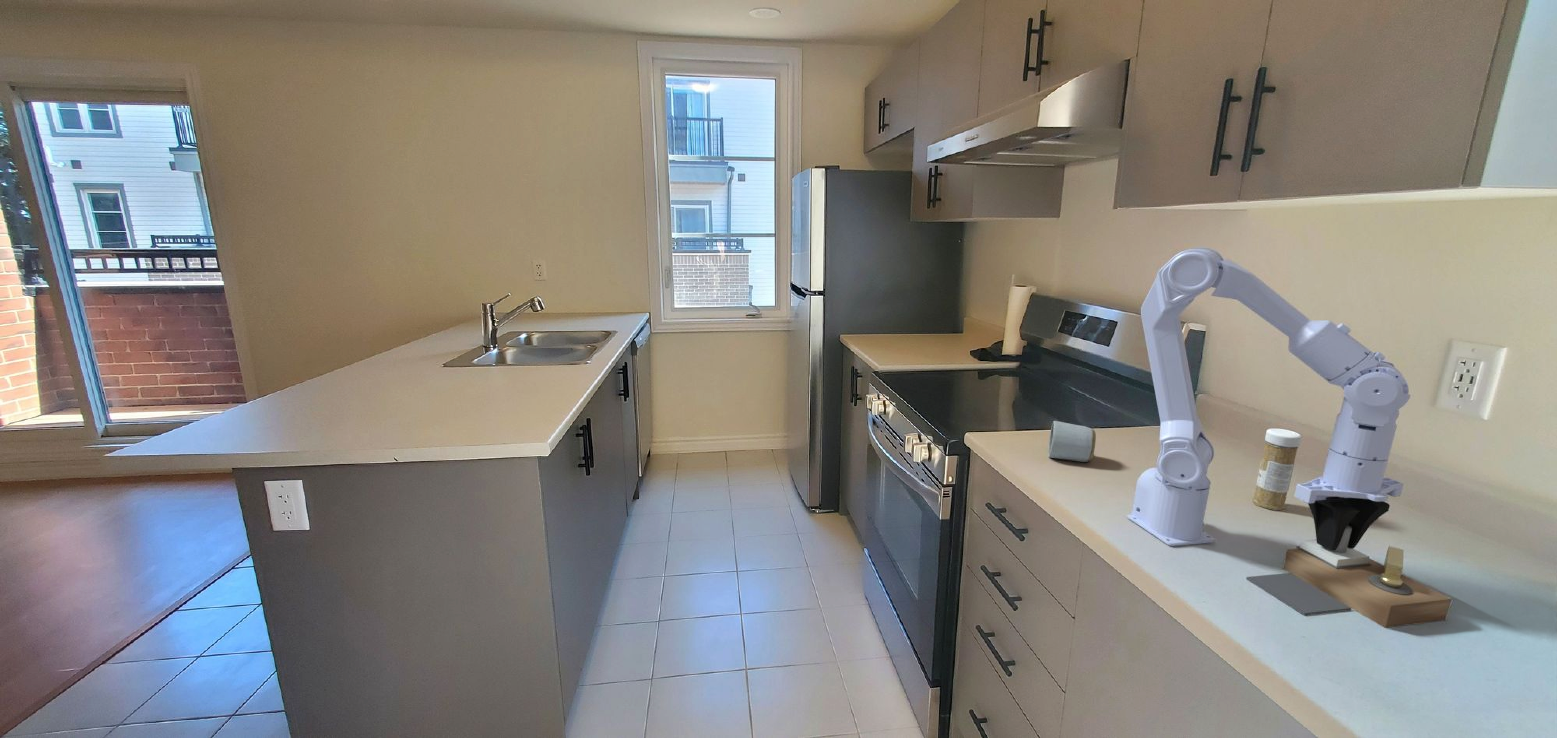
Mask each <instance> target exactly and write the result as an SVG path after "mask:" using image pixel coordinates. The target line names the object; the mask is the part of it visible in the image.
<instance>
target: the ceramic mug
mask: <svg viewBox="0 0 1557 738" xmlns="http://www.w3.org/2000/svg"><path fill="white" fill-rule="evenodd" d="M1050 428H1051V429H1050V432H1049V433H1050V434H1049V442H1048V449H1047V451H1048V452H1047V453H1048V454H1047V456H1048V458H1051V459H1058V460H1065V461H1066V460H1067V461H1072V462H1073V461H1074V462H1080V463H1085V462H1086V463H1087V462H1090V461H1091V460H1093V457H1094V454H1095V448H1096V442H1097V441H1096V440H1097V439H1096V436H1097V435H1096V431H1095V429H1094V428H1092V427H1091V428H1090V427H1088V426H1085V425H1080V424H1079V425H1078V424H1074V423H1067V422H1064V421H1058V420H1054V421H1053V422H1052V424H1051V427H1050Z"/></svg>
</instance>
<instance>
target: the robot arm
mask: <svg viewBox="0 0 1557 738" xmlns="http://www.w3.org/2000/svg"><path fill="white" fill-rule="evenodd" d="M1156 273H1157V274H1156V277H1155V279H1154V282H1153V284H1152V285H1151V287H1150V289H1149V291H1148V294H1147V295H1146V298H1145V299H1144V301H1143V303H1142V305H1141V308H1140V315H1141V316H1140V317H1141V322H1142V328H1143V332H1144V339H1145V345H1146V349H1147V356H1148V362H1149V366H1150V372H1151V378H1152V382H1153V388H1154V394H1155V398H1156V405H1157V410H1158V411H1157V412H1158V415H1159V421H1160V427H1159V430H1160V431H1159V445H1160V452H1159V455H1158V457H1157V460H1156V467H1151V468H1147V469H1146V470H1144V471H1143V472H1142V473H1141V475H1140V476H1139V477H1138V479H1137V481H1136V485H1135V493H1134V498H1133V505H1132V512H1131V513H1128V514H1127V515H1126V518H1127V519H1129V520H1130V521H1132V522H1133V523H1135V524H1136V525H1138V526H1139V527H1140V528H1142V529H1144V530H1145V531H1146V532H1148V533H1150V534H1151V535H1153V536H1154V537H1156V538H1157V539H1159V540H1161V541H1162V542H1163V543H1165V544H1166V545H1167V546H1171V547H1172V546H1173V547H1175V546H1185V545H1187V546H1188V545H1197V544H1207V543H1208V544H1209V543H1215V542H1216V539H1215V538H1214V537H1212V536H1211V535H1210V534H1208V533H1206V532H1204V531H1202V530H1203V525H1204V520H1205V516H1206V515H1205V514H1206V509H1207V504H1208V499H1209V495H1210V489H1211V483H1212V482H1211V480H1210V479H1209V478H1208V476H1207V474H1208V467H1209V466H1210V464H1211V462H1212V461H1213V460H1214V457H1215V449H1214V446H1213V444H1212V442H1211V441H1210V440H1209V439H1208V438H1207V436H1206V435H1205V433H1204V429H1203V425H1202V424H1203V423H1201V420H1200V419H1199V416H1198V411H1197V406H1196V400H1195V393H1194V390H1193V384H1192V378H1191V372H1190V366H1189V361H1188V356H1187V349H1186V344H1185V339H1184V333H1183V329H1182V328H1183V327H1182V322H1181V321H1182V320H1181V314H1182V313H1183V312H1184V311H1185V310H1186V309H1187V308H1188V307H1189V305H1191V303H1192V302H1193V301H1194V300H1195V298H1197V297H1198V296H1200V295H1201V294H1203V293H1204V292H1205V291H1207V290H1209V289H1210V288H1214V290H1213V292H1212V293H1211V295H1210V296H1212V297H1218V298H1223V299H1231V300H1237V301H1238V302H1240V303H1241V304H1242V305H1244V306H1245V307H1247V308H1248V309H1250V310H1251V311H1252V312H1254V313H1255V314H1257V315H1258V316H1259V317H1260V318H1261V319H1263V320H1265V321H1266V322H1267V323H1269V324H1270V325H1272V326H1273V328H1275V329H1277V330H1278V331H1280V332H1281V333H1283V334H1284V335H1285V336H1287V338H1288V349H1287V350H1288V352H1290V353H1291V354H1292V355H1294V356H1295V357H1296V358H1297V359H1298V360H1300V361H1301V363H1303V364H1305V365H1306V366H1307V367H1309V368H1310V369H1311V370H1312V371H1314V372H1315V373H1316V374H1318V375H1319V376H1320V377H1321V378H1323V380H1325V381H1326V382H1327V383H1329V384H1330V385H1334V386H1339V387H1341V389H1342V391H1343V395H1344V396H1343V400H1342V403H1341V407H1340V411H1339V413H1338V414H1337V415H1336V418H1335V422H1334V427H1333V430H1332V435H1331V440H1330V444H1329V448H1328V451H1327V456H1326V460H1325V465H1324V468H1323V473H1322V475H1321V476H1318V477H1316V478H1314V479H1311V480H1309V481H1307V482H1303V483H1297V484H1296V488H1295V492H1294V496H1293V497H1294V498H1295V499H1298V500H1300V501H1302V502H1304V503H1306V504H1307V505H1308V507H1309V509H1310V512H1311V514H1312V518H1313V523H1314V524H1313V525H1314V528H1315V529H1314V531H1315V538H1316V540H1317V544H1319V545H1321V546H1323V547H1325V548H1327V549H1329V550H1336V549H1337V547H1338V546H1339V544H1340V541H1341V539H1342V536H1343V533H1344V531H1345V529H1346V527H1347V525H1349V526H1351V527H1352V531H1351V535H1350V539H1349V543H1348V547H1347V548H1350V549H1355V548H1356V546H1357V545H1358V544H1359V542H1360V541H1361V540H1362V538H1363V537H1364V535H1365V533H1366V532H1367V531H1368V530H1369V528H1370V527H1371V526H1372V525H1373V524H1374V523H1375V522H1376V521H1377V520H1378V519H1379V518H1380V517H1382V516H1383V515H1384V514H1386V513H1387V512H1389V509H1390V504H1389V503H1388V499H1389V496H1391V497H1393V498H1395V497H1396V498H1397V497H1401V495H1402V492H1403V491H1402V490H1403V488H1404V483H1403V482H1401V481H1398V480H1396V479H1393V478H1389V477H1385V472H1386V469H1387V464H1388V460H1389V457H1390V454H1391V450H1392V446H1393V441H1394V438H1395V436H1396V435H1395V434H1396V431H1397V424H1396V422H1397V419H1398V418H1399V415H1400V409H1402V408H1404V406H1406V404H1407V403H1408V402H1409V400H1410V399H1411V394H1409V389H1410V388H1409V385H1408V382H1407V381H1406V379H1405V377H1404V376H1403V374H1402V372H1401V371H1400V370H1399V369H1397V368H1396V367H1395V365H1394V364H1393V363H1392V362H1390V361H1387V360H1385V359H1386V357H1385V355H1384V354H1382V353H1381V352H1379V351H1375V352H1372V351H1371V350H1370V349H1369V348H1368V347H1366V346H1365V345H1363V344H1362V343H1361V342H1359V341H1358V340H1357V339H1356V338H1354V337H1353V336H1351V334H1349V333H1350V332H1351V329H1350V327H1348V326H1347V325H1345V324H1344V323H1343V322H1341V323H1339V324H1338V325H1337V324H1335V323H1334V322H1333V321H1331V320H1327V319H1326V320H1325V319H1323V320H1321V319H1320V320H1315V319H1314V320H1313V319H1309V318H1308V317H1307V316H1306V315H1304V313H1302V312H1301V311H1299V309H1297V308H1296V307H1295V306H1294V305H1293V304H1291V303H1290V302H1289V301H1287V300H1286V299H1285V298H1283V297H1282V296H1281V295H1280V294H1279V293H1277V291H1275V290H1274V289H1272V288H1271V287H1270V286H1269V285H1267V284H1266V282H1264V281H1263V280H1261V279H1260V278H1259V277H1257V276H1256V275H1255V274H1254V273H1253V272H1251V271H1249V270H1248V269H1246V268H1245V267H1243V266H1241V265H1240V264H1238V263H1237V262H1235V261H1233V260H1231V259H1228V258H1226V259H1224V257H1223V256H1222V255H1221V254H1220V253H1219V252H1218V251H1216V250H1214V249H1212V248H1209V247H1195V248H1192V249H1191V248H1190V249H1186V250H1183V251H1179V253H1177V254H1175V255H1174V256H1173V257H1171V258H1170V259H1169V260H1168V262H1166V263H1165V264H1164V265H1163V266H1162V267H1161V268H1160V269H1159V270H1158V271H1157V272H1156Z"/></svg>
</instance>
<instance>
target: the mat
mask: <svg viewBox="0 0 1557 738" xmlns="http://www.w3.org/2000/svg"><path fill="white" fill-rule="evenodd" d="M1245 579H1246V580H1247V581H1249V583H1252V584H1254V585H1255V586H1256V587H1258V588H1260V589H1261V590H1263V591H1265V592H1266V593H1268V594H1270V595H1271V596H1273V597H1274V598H1276V599H1277V600H1279V601H1280V602H1281V603H1283V604H1285V605H1287V606H1288V607H1290V608H1291V609H1292V610H1295V611H1297V612H1298V613H1300V615H1303V616H1308V615H1309V616H1310V615H1316V614H1317V615H1318V614H1325V613H1326V614H1328V613H1336V612H1344V611H1345V612H1346V611H1351V610H1352V608H1351V607H1349V606H1347V605H1345V604H1344V603H1342V602H1340V601H1338V600H1337V599H1335V598H1333V597H1332V596H1330V595H1328V594H1326V593H1325V592H1323V591H1321V590H1319V589H1318V588H1316V587H1314V586H1313V585H1311V584H1309V583H1307V582H1306V581H1304V580H1302V579H1300V578H1299V577H1297V576H1295V575H1293V574H1292V573H1290V572H1284V573H1283V572H1281V573H1275V574H1274V573H1273V574H1263V575H1253V576H1246V578H1245Z"/></svg>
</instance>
